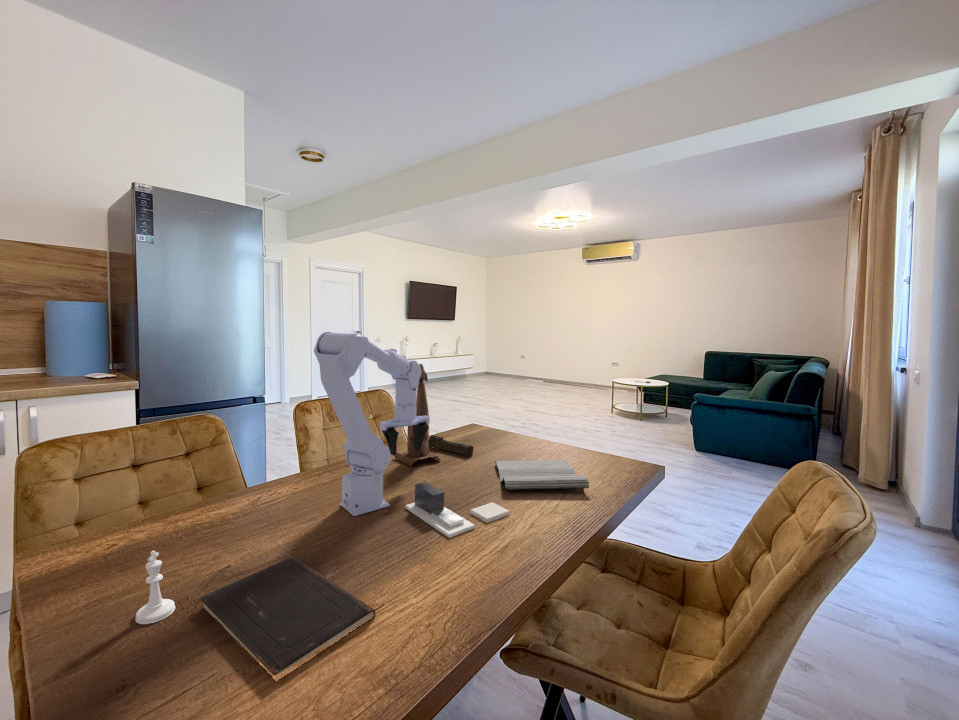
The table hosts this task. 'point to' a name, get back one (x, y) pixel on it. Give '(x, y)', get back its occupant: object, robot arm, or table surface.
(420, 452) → the bird sculpture
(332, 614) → the hardcover book
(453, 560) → the table surface
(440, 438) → the hand tool
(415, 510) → the board
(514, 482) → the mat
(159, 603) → the chess piece
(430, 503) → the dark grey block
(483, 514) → the tile
